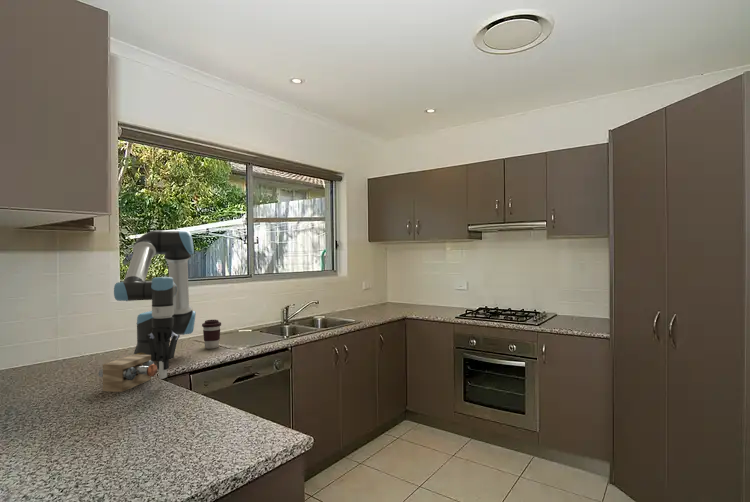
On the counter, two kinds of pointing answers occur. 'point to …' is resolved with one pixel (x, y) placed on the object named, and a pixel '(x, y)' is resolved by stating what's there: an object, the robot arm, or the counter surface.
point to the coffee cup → (211, 333)
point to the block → (115, 373)
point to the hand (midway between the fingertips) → (163, 377)
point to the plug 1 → (127, 374)
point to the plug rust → (146, 370)
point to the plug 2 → (148, 363)
